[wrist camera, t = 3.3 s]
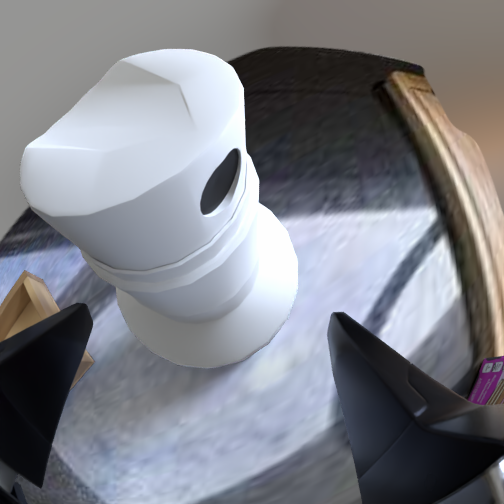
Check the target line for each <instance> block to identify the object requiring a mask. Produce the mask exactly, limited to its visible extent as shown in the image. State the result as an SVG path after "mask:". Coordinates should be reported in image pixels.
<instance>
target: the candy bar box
mask: <svg viewBox="0 0 504 504" xmlns="http://www.w3.org/2000/svg"><path fill="white" fill-rule="evenodd" d="M467 400H468V401H470V402H472V403H475V404H479V405H494V404H504V356H500V357H492V358H485V359H484V360H483V363H482V366H481V368H480V371H479V374H478V376H477V378H476V381H475V383H474V386H473V388H472V390H471V392H470V395H469V397H468V399H467Z"/></svg>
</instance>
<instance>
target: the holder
mask: <svg viewBox="0 0 504 504" xmlns="http://www.w3.org/2000/svg"><path fill="white" fill-rule="evenodd" d="M59 311H60V309H59V308H58V306H57V304H56V303H55V301H54V299H53V297H52V296H51V294H50V292H49V290H48V288H47V286H46V284H45V283H44V281H43V279H41V278H39V277H37V276H35V275H33V274H31V273H29V272H27V271H25V270H24V272H23V273H22V274H21V276H20V277H19V279H18V280H17V281H16V283H15V284H14V286H13V287H12V289H11V290H10V292H9V293H8V295H7V296H6V298H5V299H4V301H3V302H2V304H1V306H0V342H1V341H3V340H5V339H7V338H9V337H10V338H11V336H13V335H15V334H17V333H18V332H20V331H22V330H24V329H26V328H28V327H30V326H32V325H34V324H36V323H38V322H40V321H42V320H44V319H45V318H47V317H49V316H51V315H53V314H55V313H57V312H59ZM94 362H95V361H94V360H93V359H92V357H91V356H90V355H89V353H88V352H87V351H86V349H85V352H84V355H83V358H82V360H81V363H80V365H79V368H78V370H77V373H76V375H75V378H74V380H73V383H72V386H71V388H70V390H71V389H72V388H73V387H74V385H75V384H76V383H77V382H78V381H79V380H80V378H81V377H82V376H83V375H84V374H85V373H86V371H87V370H88V369H89V368H90V367H91V366H92V365H93V363H94Z"/></svg>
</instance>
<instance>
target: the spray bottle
mask: <svg viewBox="0 0 504 504" xmlns="http://www.w3.org/2000/svg"><path fill="white" fill-rule="evenodd" d="M20 188H21V191H22V192H23V194H24V196H25V198H26V200H27V202H28V204H29V206H30V207H31V209H32V210H33V211H34V212H35V213H36V214H37V215H39V216H40V217H41V218H42V219H43V220H45V221H46V222H47V223H48V224H50V225H51V226H52V227H53V228H55V229H56V230H57V231H58V232H60V233H61V234H62V235H63V236H65V237H66V238H67V239H69V240H70V241H71V242H72V243H74V244H75V245H76V246H78V247H79V249H80V250H81V253H82V256H83V258H84V259H85V261H86V262H87V263H88V264H89V266H90V267H91V268H92V269H93V270H94V272H95V273H96V274H97V275H98V276H99V277H100V278H101V279H103V280H105V281H106V282H108V283H110V284H112V285H113V286H115V287H116V294H117V302H118V306H119V308H120V310H121V313H122V315H123V317H124V319H125V321H126V323H127V325H128V327H129V329H130V331H131V332H132V333H133V334H134V335H135V336H136V337H137V338H138V339H139V340H140V341H141V342H142V343H143V344H144V345H145V346H146V347H147V348H148V349H149V350H150V351H151V352H152V353H154V354H156V355H158V356H160V357H162V358H164V359H166V360H168V361H170V362H173V363H175V364H177V365H179V366H187V367H196V368H206V369H212V368H216V367H221V366H225V365H229V364H233V363H237V362H241V361H243V360H245V359H246V358H248V357H249V356H251V355H252V354H254V353H256V352H257V351H259V350H260V349H262V348H263V347H265V346H266V345H268V344H269V343H270V341H271V340H272V339H273V338H274V336H275V335H276V334H277V333H278V331H279V330H280V329H281V327H282V326H283V325H284V324H285V322H286V321H287V320H288V318H289V315H290V312H291V309H292V306H293V303H294V300H295V297H296V294H297V291H298V260H297V257H296V254H295V252H294V249H293V246H292V243H291V240H290V238H289V235H288V232H287V231H286V229H285V228H284V227H283V226H282V224H281V223H280V222H279V221H278V219H277V218H276V217H275V216H274V214H273V213H272V212H271V211H270V210H269V209H267V208H266V207H264V206H263V205H261V204H260V203H258V199H259V179H258V176H257V173H256V171H255V168H254V165H253V163H252V160H251V157H250V156H249V155H248V154H247V152H246V145H245V117H244V88H243V86H242V84H241V82H240V80H239V78H238V76H237V74H236V72H235V70H234V69H233V67H232V66H230V65H229V64H227V63H226V62H224V61H223V60H221V59H220V58H218V57H217V56H215V55H212V54H208V53H204V52H201V51H196V50H192V49H163V50H157V51H151V52H146V53H141V54H137V55H134V56H131V57H127V58H124V59H121V60H120V61H118V62H117V63H116V64H115V65H113V66H112V67H111V68H110V69H109V71H108V72H107V73H106V74H105V75H104V76H103V78H102V79H101V80H100V81H99V82H98V84H96V85H95V86H94V87H93V88H91V89H90V90H89V91H88V92H87V93H86V94H85V95H84V96H83V97H82V98H81V99H80V100H79V102H78V103H77V104H76V105H75V106H74V107H73V108H72V109H71V110H70V111H69V112H68V113H67V114H66V115H64V116H63V117H62V118H61V119H60V120H58V121H57V122H56V123H55V124H54V125H53V126H52V127H51V128H50V129H49V130H48V131H47V132H46V133H45V134H44V135H42V136H40V137H39V138H37V139H36V140H34V141H33V142H31V143H30V144H29V145H28V146H27V147H26V148H25V151H24V154H23V157H22V160H21V164H20Z"/></svg>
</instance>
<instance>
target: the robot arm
mask: <svg viewBox="0 0 504 504" xmlns="http://www.w3.org/2000/svg"><path fill="white" fill-rule="evenodd" d="M92 327H93V320H92V317H91V315H90V312H89V309H88V306H87V305H86V304H84V303H75V304H73V305H71V306H69V307H67V308H65V309H63V310H61V311H59V312H57V313H55V314H53V315H51V316H49V317H47V318H45V319H44V320H42V321H40V322H38V323H36V324H34V325H32V326H30V327H28V328H26V329H24V330H22V331H20V332H18V333H17V334H15V335H13V336H11V338H10V337H9V338H7V339H5V340H3V341H1V342H0V504H27V502H26V499H25V496H24V494H23V491H22V488H21V485H20V484H18V483H17V482H15V481H16V478H17V475H18V474H19V475H20V476H22V477H23V478H25V479H26V480H28V481H29V482H31V483H32V484H34V485H36V486H37V487H39V488H42V485H43V480H44V476H45V471H46V467H47V463H48V458H49V455H50V451H51V447H52V443H53V439H54V436H55V433H56V429H57V426H58V423H59V420H60V417H61V414H62V411H63V408H64V405H65V402H66V399H67V396H68V394H69V391H70V388H71V386H72V383H73V380H74V378H75V375H76V373H77V370H78V368H79V365H80V363H81V360H82V358H83V355H84V352H85V349H86V345H87V342H88V339H89V336H90V333H91V330H92ZM327 337H328V344H329V350H330V357H331V365H332V371H333V376H334V381H335V384H336V388H337V392H338V396H339V400H340V404H341V408H342V412H343V416H344V420H345V424H346V428H347V432H348V437H349V441H350V445H351V450H352V454H353V459H354V463H355V468H356V473H357V478H358V479H359V480H358V483H359V488H360V493H361V499H362V504H504V404H494V405H479V404H475V403H472V402H470V401H468V400H466V399H465V398H463V397H461V396H460V395H458V394H456V393H455V392H453V391H452V390H450V389H448V388H447V387H445V386H443V385H442V384H440V383H439V382H437V381H436V380H434V379H433V378H431V377H430V376H428V375H427V374H425V373H424V372H423V371H421V370H420V369H419V368H417V367H416V366H415V365H413V364H410V362H409V361H408V360H407V359H405V358H404V357H403V356H401V355H400V354H399V353H397V352H396V351H395V350H393V349H392V348H391V347H389V346H388V345H387V344H385V343H384V342H383V341H382V340H380V339H379V338H378V337H376V336H375V335H374V334H372V333H371V332H370V331H368V330H367V329H366V328H364V327H363V326H362V325H360V324H359V323H358V322H356V321H355V320H354V319H352V318H351V317H350V316H348V315H347V314H346V313H344V312H333V313H332V314H331V317H330V322H329V327H328V333H327Z"/></svg>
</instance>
